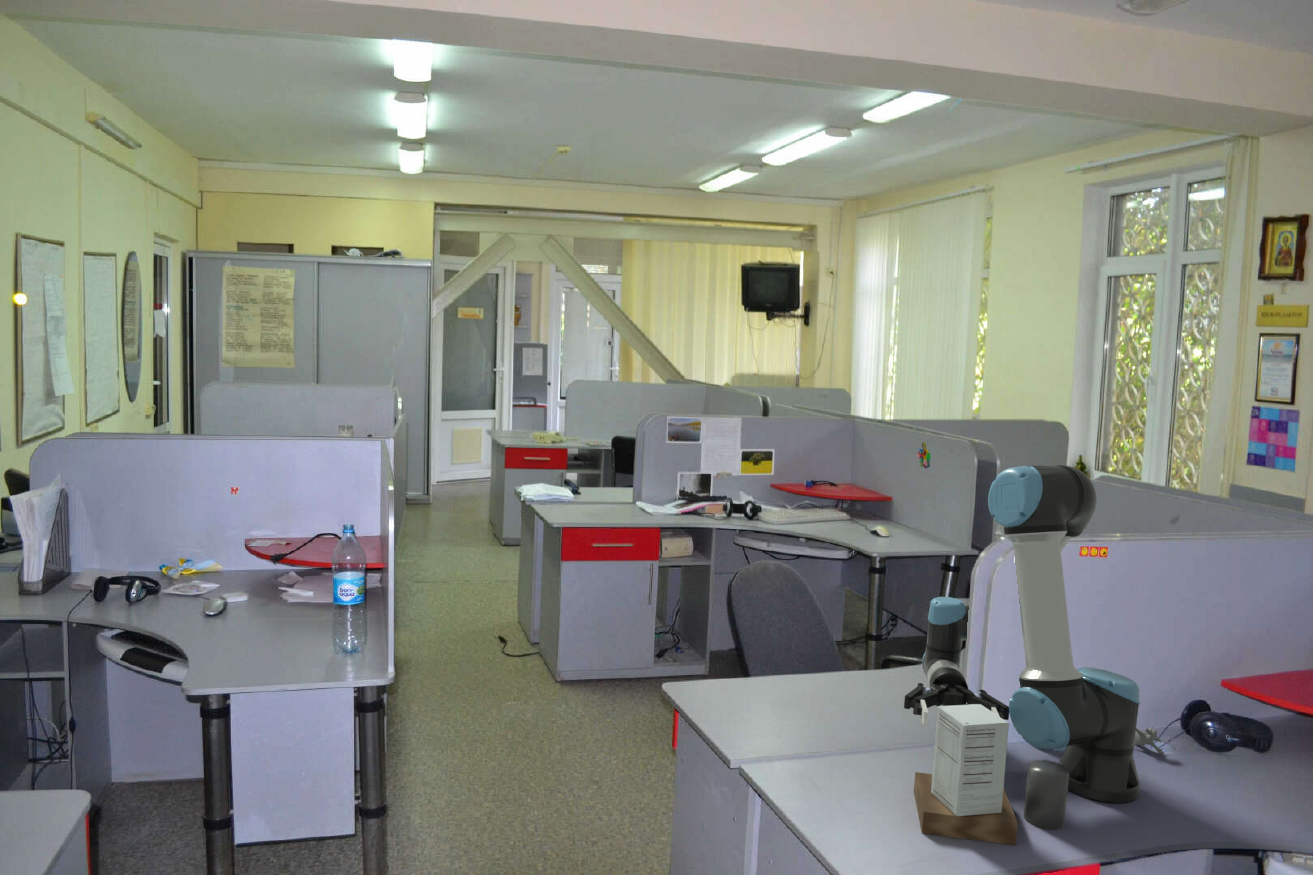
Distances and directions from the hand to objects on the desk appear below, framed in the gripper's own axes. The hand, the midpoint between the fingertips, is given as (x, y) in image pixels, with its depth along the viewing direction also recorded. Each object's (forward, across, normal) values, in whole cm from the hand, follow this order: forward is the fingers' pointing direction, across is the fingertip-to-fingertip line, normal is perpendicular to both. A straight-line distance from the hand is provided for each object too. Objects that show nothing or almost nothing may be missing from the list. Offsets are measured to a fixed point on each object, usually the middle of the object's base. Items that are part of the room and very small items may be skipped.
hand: (962, 722), depth 187 cm
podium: (+9, 0, -14) cm, 17 cm away
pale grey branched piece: (-34, -44, -15) cm, 57 cm away
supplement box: (+11, 0, -11) cm, 16 cm away
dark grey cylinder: (+6, -15, -15) cm, 22 cm away
